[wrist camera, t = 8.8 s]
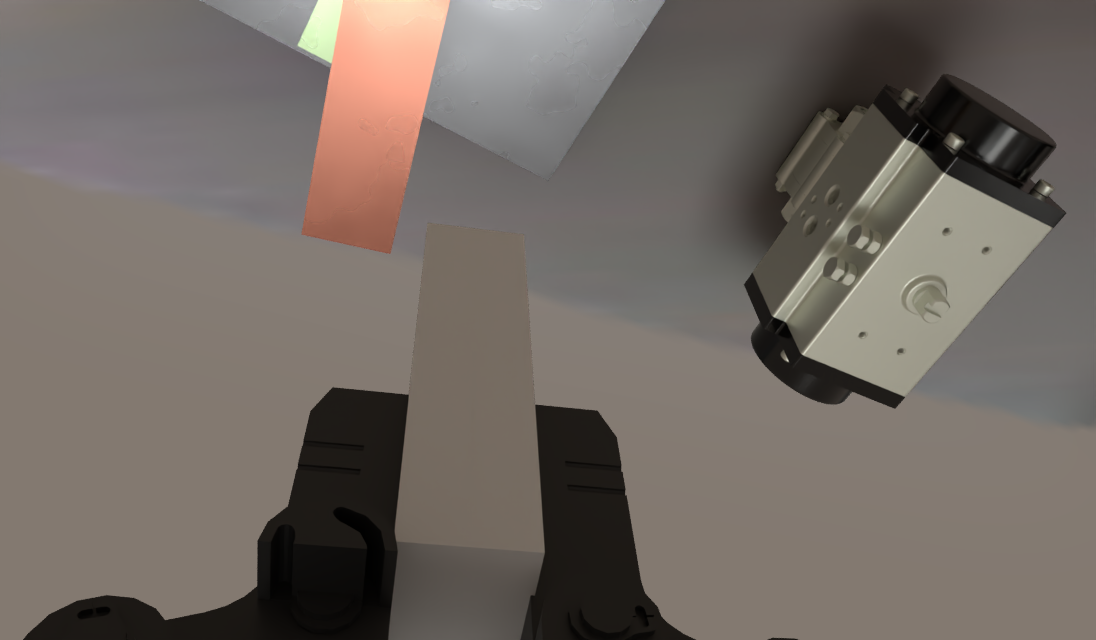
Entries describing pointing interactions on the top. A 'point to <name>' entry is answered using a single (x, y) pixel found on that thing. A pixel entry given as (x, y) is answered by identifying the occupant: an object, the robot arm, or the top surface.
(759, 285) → the pneumatic valve
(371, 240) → the scoop with pink handle
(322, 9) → the grey plate with post
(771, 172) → the top surface
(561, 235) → the top surface
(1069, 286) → the top surface
